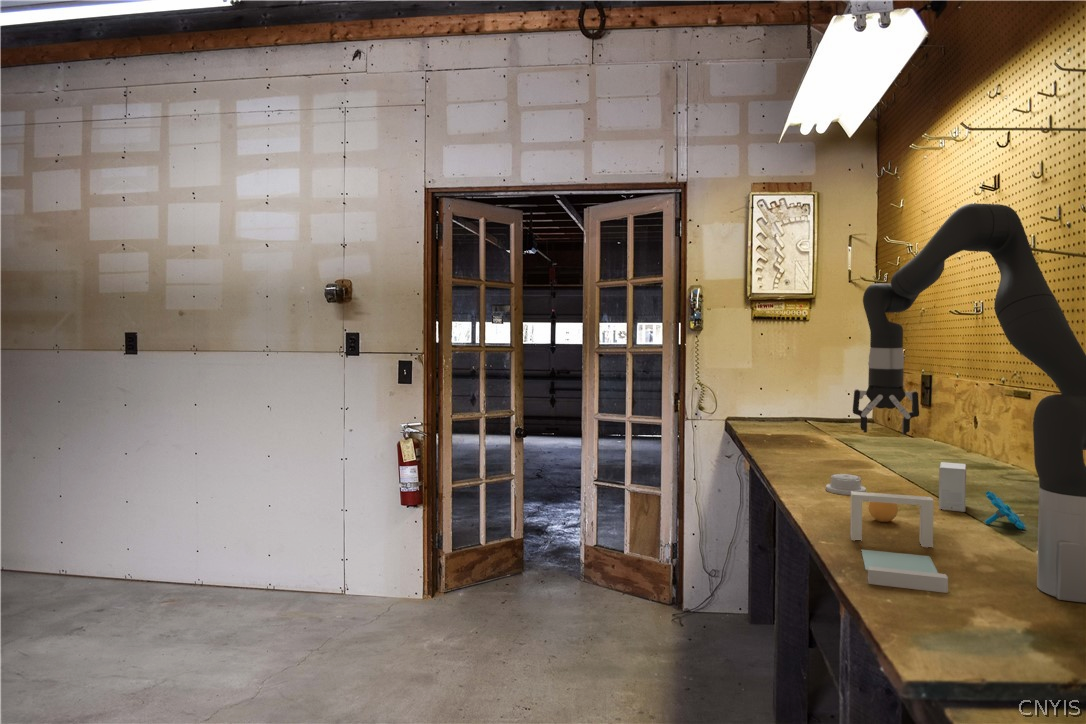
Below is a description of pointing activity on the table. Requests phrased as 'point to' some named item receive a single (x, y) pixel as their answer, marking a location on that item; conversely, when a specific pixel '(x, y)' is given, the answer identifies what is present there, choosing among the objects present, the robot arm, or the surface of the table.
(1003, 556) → the table surface
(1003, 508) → the blue branched figurine
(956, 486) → the small box
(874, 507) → the ball
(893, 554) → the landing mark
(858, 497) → the bridge
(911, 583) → the stopper wall
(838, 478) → the mechanical component
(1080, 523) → the robot arm
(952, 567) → the table surface
